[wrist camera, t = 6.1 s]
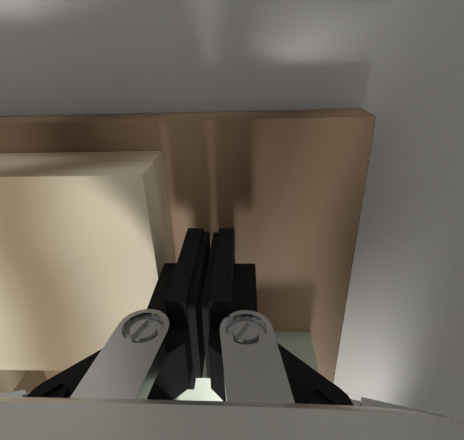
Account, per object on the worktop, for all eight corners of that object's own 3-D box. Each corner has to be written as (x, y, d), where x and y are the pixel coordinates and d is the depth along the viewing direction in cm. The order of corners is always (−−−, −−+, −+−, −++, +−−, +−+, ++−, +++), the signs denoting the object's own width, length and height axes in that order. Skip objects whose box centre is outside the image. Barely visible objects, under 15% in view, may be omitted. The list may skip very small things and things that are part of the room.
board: (362, 108, 12) (437, 150, 7) (318, 419, 21) (340, 537, 16) (-209, 120, 13) (-471, 163, 9) (-34, 412, 22) (-117, 520, 17)
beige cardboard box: (162, 150, 12) (142, 175, 10) (183, 325, 15) (172, 372, 13) (-34, 153, 12) (-97, 178, 10) (32, 323, 16) (-3, 369, 14)
